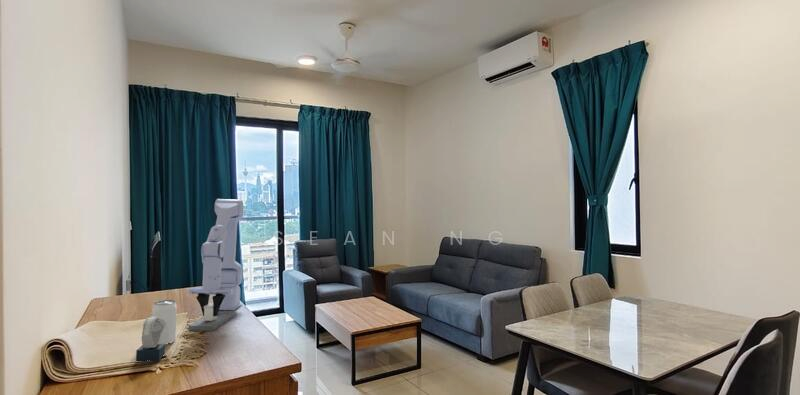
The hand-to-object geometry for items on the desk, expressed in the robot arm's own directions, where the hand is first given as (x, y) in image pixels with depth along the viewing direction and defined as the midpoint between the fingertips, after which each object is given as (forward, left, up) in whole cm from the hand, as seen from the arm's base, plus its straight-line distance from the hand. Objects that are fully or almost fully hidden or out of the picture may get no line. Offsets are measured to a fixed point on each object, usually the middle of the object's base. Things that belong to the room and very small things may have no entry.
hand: (210, 315), depth 142 cm
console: (-2, 0, -3) cm, 4 cm away
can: (+19, -5, -3) cm, 20 cm away
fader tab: (0, 0, -1) cm, 1 cm away
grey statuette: (+32, -1, -3) cm, 32 cm away
